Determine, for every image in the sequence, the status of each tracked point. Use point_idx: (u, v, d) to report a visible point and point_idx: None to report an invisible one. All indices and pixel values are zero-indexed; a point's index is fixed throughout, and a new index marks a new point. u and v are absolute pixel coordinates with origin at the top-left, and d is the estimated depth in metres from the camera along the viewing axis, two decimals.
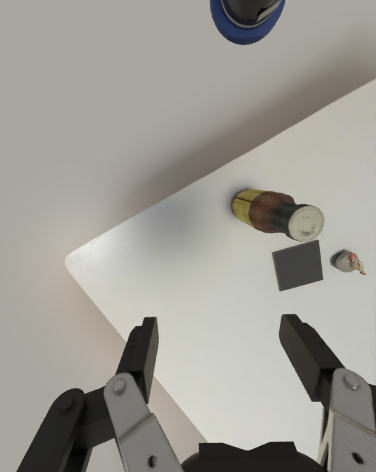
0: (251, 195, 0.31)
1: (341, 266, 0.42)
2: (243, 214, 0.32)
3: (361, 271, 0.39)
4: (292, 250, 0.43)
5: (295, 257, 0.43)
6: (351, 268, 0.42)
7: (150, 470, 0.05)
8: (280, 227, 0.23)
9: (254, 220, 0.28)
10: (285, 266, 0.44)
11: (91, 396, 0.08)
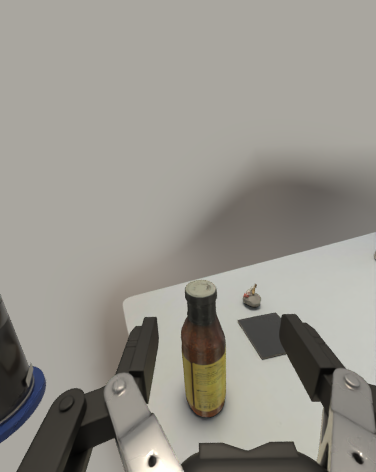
0: (186, 369, 0.27)
1: (256, 300, 0.49)
2: (209, 378, 0.25)
3: (254, 286, 0.50)
4: (252, 339, 0.40)
5: (260, 336, 0.41)
6: (256, 294, 0.51)
7: (150, 470, 0.05)
8: (208, 311, 0.24)
9: (210, 351, 0.24)
10: (274, 344, 0.39)
11: (91, 396, 0.08)
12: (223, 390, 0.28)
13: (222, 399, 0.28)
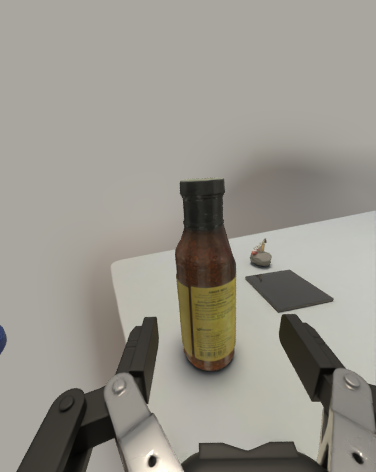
0: (182, 302, 0.19)
1: (266, 257, 0.42)
2: (214, 310, 0.18)
3: (264, 242, 0.43)
4: (265, 292, 0.33)
5: (273, 290, 0.34)
6: (265, 252, 0.44)
7: (150, 470, 0.05)
8: (212, 207, 0.17)
9: (215, 266, 0.17)
10: (291, 297, 0.32)
11: (91, 396, 0.08)
12: (233, 333, 0.21)
13: (231, 346, 0.21)
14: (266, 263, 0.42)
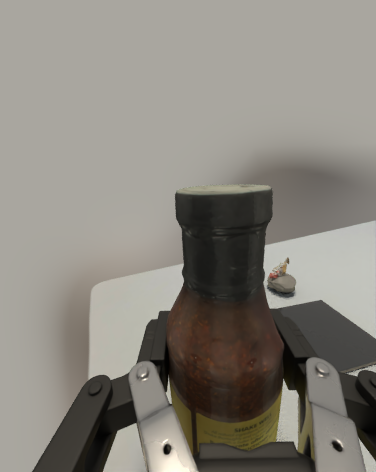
0: None
1: (290, 282, 0.32)
2: None
3: (286, 262, 0.33)
4: None
5: (307, 336, 0.24)
6: (287, 275, 0.34)
7: (164, 457, 0.06)
8: (248, 253, 0.07)
9: (252, 382, 0.08)
10: (335, 350, 0.22)
11: (116, 382, 0.09)
12: None
13: None
14: (290, 290, 0.32)
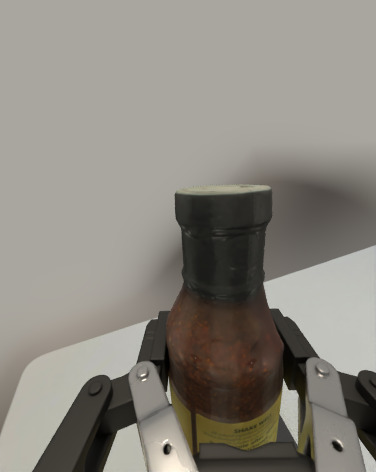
0: None
1: None
2: None
3: None
4: None
5: None
6: None
7: (164, 457, 0.06)
8: (248, 253, 0.07)
9: (252, 382, 0.08)
10: None
11: (116, 382, 0.09)
12: None
13: None
14: None
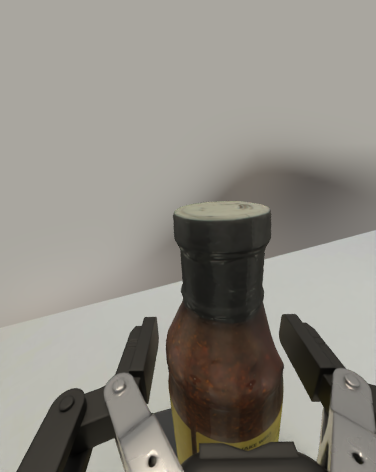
0: (180, 439, 0.10)
1: None
2: None
3: None
4: None
5: None
6: None
7: (150, 470, 0.05)
8: (247, 276, 0.07)
9: (251, 403, 0.08)
10: None
11: (91, 396, 0.08)
12: None
13: None
14: None
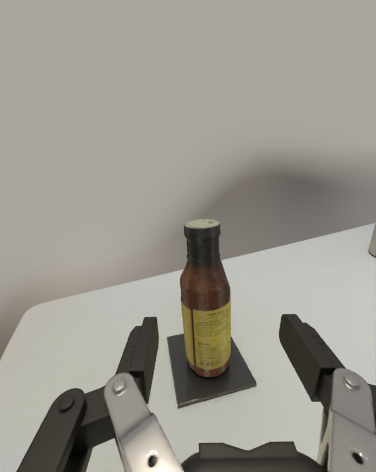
0: (186, 321, 0.24)
1: None
2: (212, 328, 0.22)
3: None
4: (176, 369, 0.26)
5: None
6: None
7: (150, 470, 0.05)
8: (210, 247, 0.21)
9: (212, 294, 0.21)
10: (205, 378, 0.25)
11: (91, 396, 0.08)
12: (228, 346, 0.25)
13: (227, 357, 0.25)
14: None
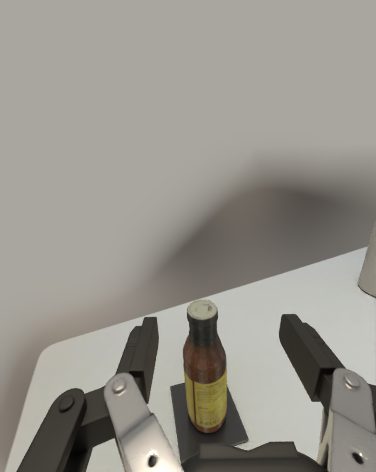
0: (188, 387, 0.27)
1: None
2: (210, 396, 0.26)
3: None
4: (178, 423, 0.30)
5: None
6: None
7: (150, 470, 0.05)
8: (209, 332, 0.25)
9: (211, 371, 0.25)
10: (204, 433, 0.29)
11: (91, 396, 0.08)
12: (224, 407, 0.29)
13: (223, 415, 0.29)
14: None
